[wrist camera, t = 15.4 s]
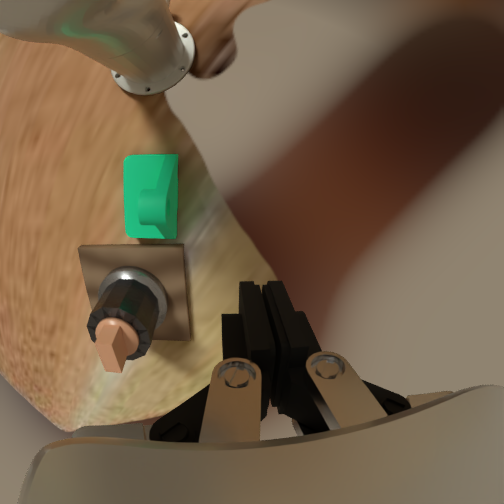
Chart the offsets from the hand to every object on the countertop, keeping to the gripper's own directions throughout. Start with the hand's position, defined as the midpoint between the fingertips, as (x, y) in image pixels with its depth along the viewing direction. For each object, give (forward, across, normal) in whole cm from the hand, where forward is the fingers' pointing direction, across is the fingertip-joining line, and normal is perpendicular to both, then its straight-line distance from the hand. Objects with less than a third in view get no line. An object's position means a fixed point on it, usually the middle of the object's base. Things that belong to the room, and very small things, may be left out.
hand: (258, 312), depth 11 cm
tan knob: (+24, +16, +18) cm, 34 cm away
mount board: (+31, +16, +18) cm, 39 cm away
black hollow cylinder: (+30, +16, +18) cm, 38 cm away
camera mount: (+32, +11, +1) cm, 34 cm away
